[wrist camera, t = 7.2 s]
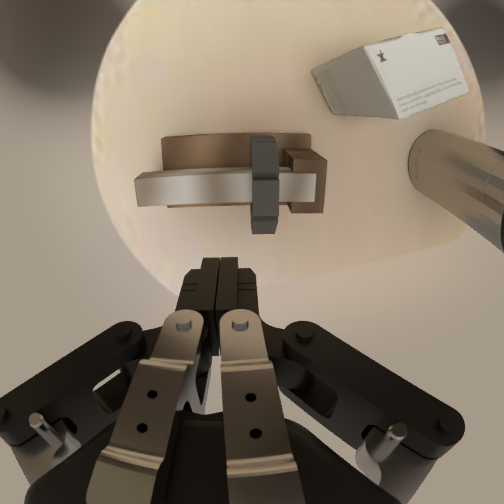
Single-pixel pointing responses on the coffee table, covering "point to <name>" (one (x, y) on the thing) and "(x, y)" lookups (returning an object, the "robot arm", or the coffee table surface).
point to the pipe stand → (231, 172)
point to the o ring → (264, 184)
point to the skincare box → (393, 76)
